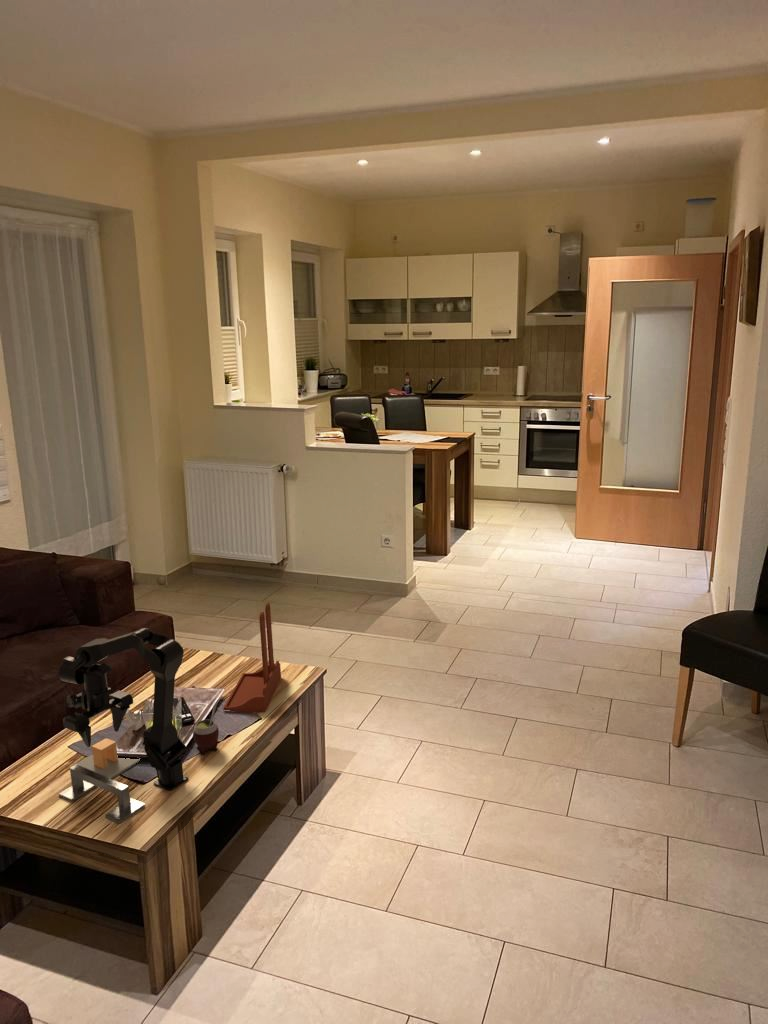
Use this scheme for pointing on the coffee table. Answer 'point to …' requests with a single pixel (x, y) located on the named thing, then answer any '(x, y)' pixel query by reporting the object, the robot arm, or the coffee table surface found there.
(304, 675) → the coffee table surface
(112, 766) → the slate mat
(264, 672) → the hanging shelf
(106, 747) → the orange link
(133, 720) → the grey flat heart piece
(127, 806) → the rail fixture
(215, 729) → the mate gourd
